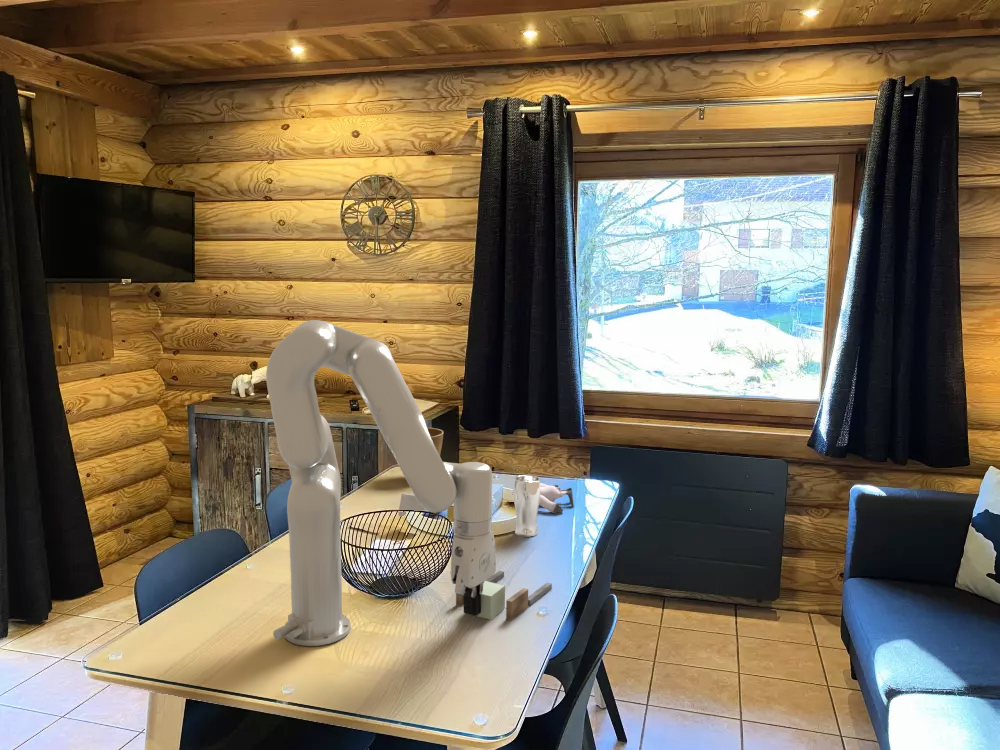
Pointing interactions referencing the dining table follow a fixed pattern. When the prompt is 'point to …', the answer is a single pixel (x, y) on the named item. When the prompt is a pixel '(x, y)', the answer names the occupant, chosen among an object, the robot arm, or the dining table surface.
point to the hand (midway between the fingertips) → (472, 612)
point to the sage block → (492, 600)
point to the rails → (532, 597)
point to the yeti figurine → (553, 497)
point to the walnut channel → (507, 603)
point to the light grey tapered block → (409, 504)
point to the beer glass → (526, 504)
